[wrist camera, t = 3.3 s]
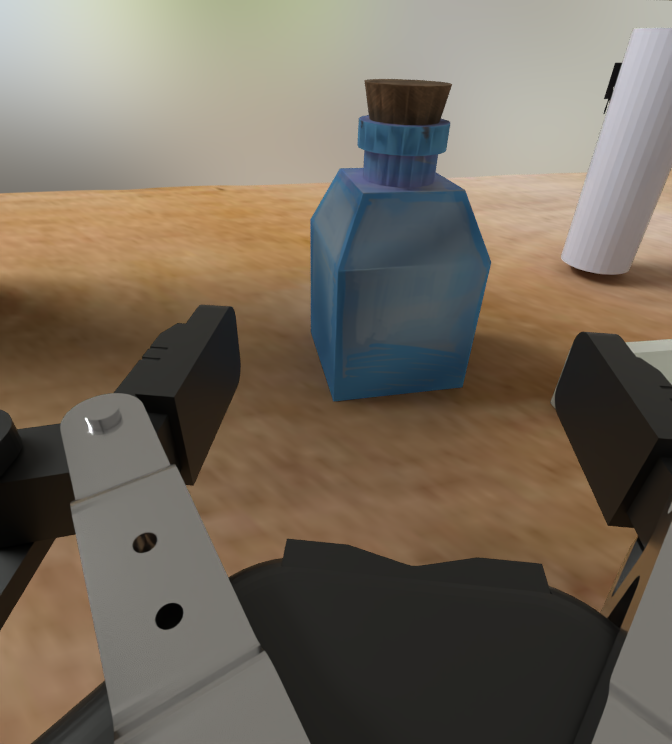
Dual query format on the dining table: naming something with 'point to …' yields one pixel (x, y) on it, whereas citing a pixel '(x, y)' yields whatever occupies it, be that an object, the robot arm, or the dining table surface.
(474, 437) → the dining table surface
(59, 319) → the dining table surface
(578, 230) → the perfume bottle
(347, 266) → the perfume bottle
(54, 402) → the dining table surface
